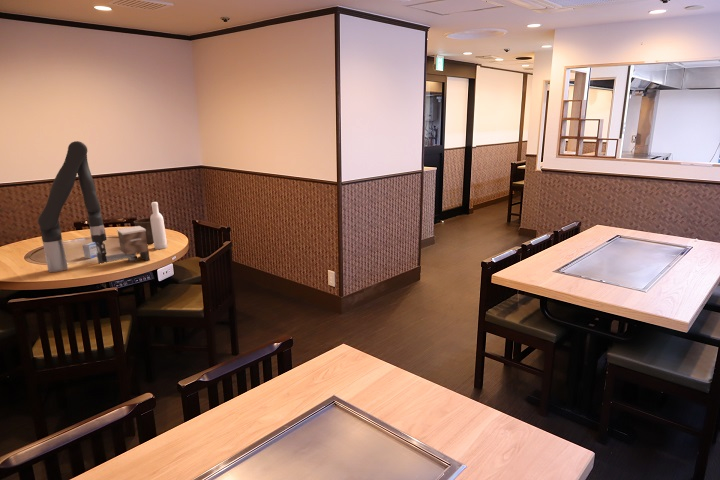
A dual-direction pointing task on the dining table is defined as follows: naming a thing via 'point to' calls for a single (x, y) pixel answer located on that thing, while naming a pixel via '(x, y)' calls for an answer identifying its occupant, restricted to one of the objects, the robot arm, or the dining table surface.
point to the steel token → (132, 258)
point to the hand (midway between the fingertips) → (103, 259)
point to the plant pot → (146, 225)
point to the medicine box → (90, 250)
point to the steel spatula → (113, 257)
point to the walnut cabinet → (134, 241)
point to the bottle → (158, 228)
